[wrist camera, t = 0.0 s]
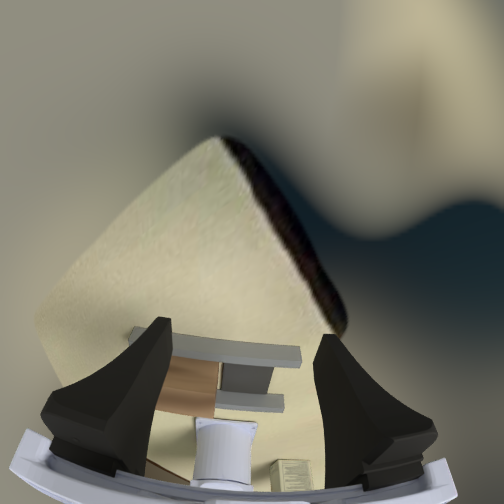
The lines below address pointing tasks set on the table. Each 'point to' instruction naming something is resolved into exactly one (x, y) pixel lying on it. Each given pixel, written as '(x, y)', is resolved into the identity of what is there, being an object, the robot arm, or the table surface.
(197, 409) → the walnut block
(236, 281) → the table surface
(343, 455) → the robot arm
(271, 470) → the skincare box
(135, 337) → the channel
